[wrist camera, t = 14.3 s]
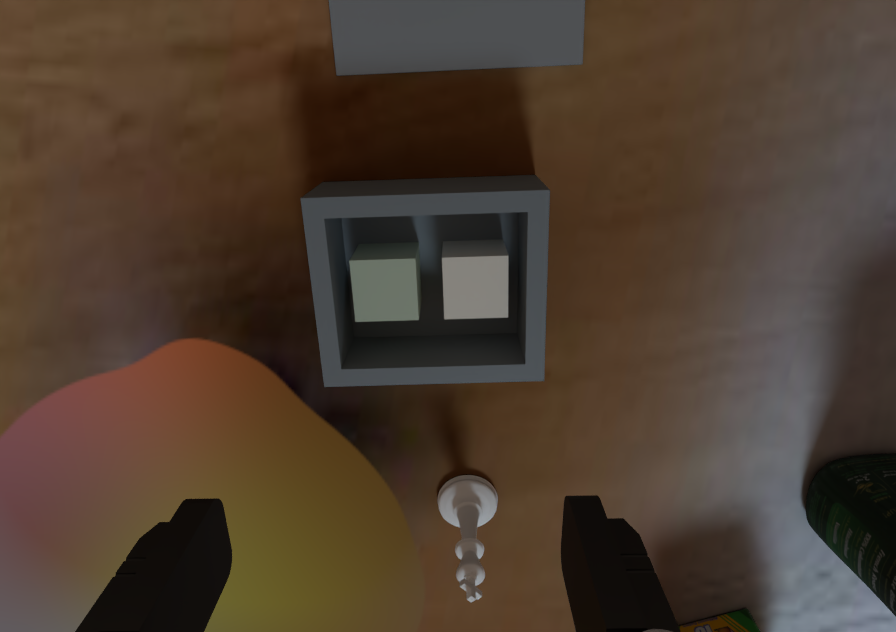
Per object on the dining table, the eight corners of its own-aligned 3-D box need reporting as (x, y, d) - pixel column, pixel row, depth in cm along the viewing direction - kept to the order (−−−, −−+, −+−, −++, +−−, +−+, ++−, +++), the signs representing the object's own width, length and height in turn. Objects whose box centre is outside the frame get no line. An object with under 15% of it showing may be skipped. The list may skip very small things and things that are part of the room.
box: (535, 174, 38) (549, 189, 32) (531, 342, 42) (544, 380, 37) (322, 182, 38) (300, 198, 33) (341, 347, 43) (324, 386, 37)
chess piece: (467, 463, 46) (471, 558, 37) (509, 498, 48) (524, 598, 38) (425, 499, 48) (418, 599, 38) (467, 532, 49) (471, 637, 40)
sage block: (418, 242, 39) (415, 258, 35) (421, 298, 40) (418, 320, 36) (359, 243, 39) (349, 260, 35) (364, 300, 40) (355, 321, 36)
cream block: (503, 239, 38) (508, 255, 35) (502, 296, 40) (508, 317, 36) (442, 241, 39) (441, 257, 35) (444, 297, 40) (444, 319, 36)
